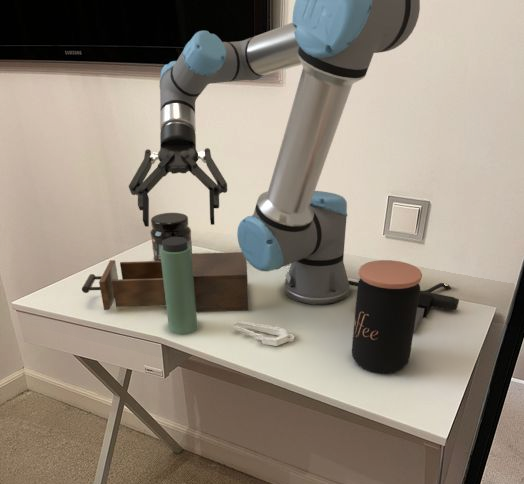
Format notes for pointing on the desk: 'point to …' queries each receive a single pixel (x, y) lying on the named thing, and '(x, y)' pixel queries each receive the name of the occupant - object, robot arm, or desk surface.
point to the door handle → (433, 304)
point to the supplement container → (168, 230)
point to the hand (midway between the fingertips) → (179, 222)
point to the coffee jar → (385, 315)
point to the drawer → (130, 284)
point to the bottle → (178, 285)
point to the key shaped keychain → (265, 328)
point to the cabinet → (220, 281)
